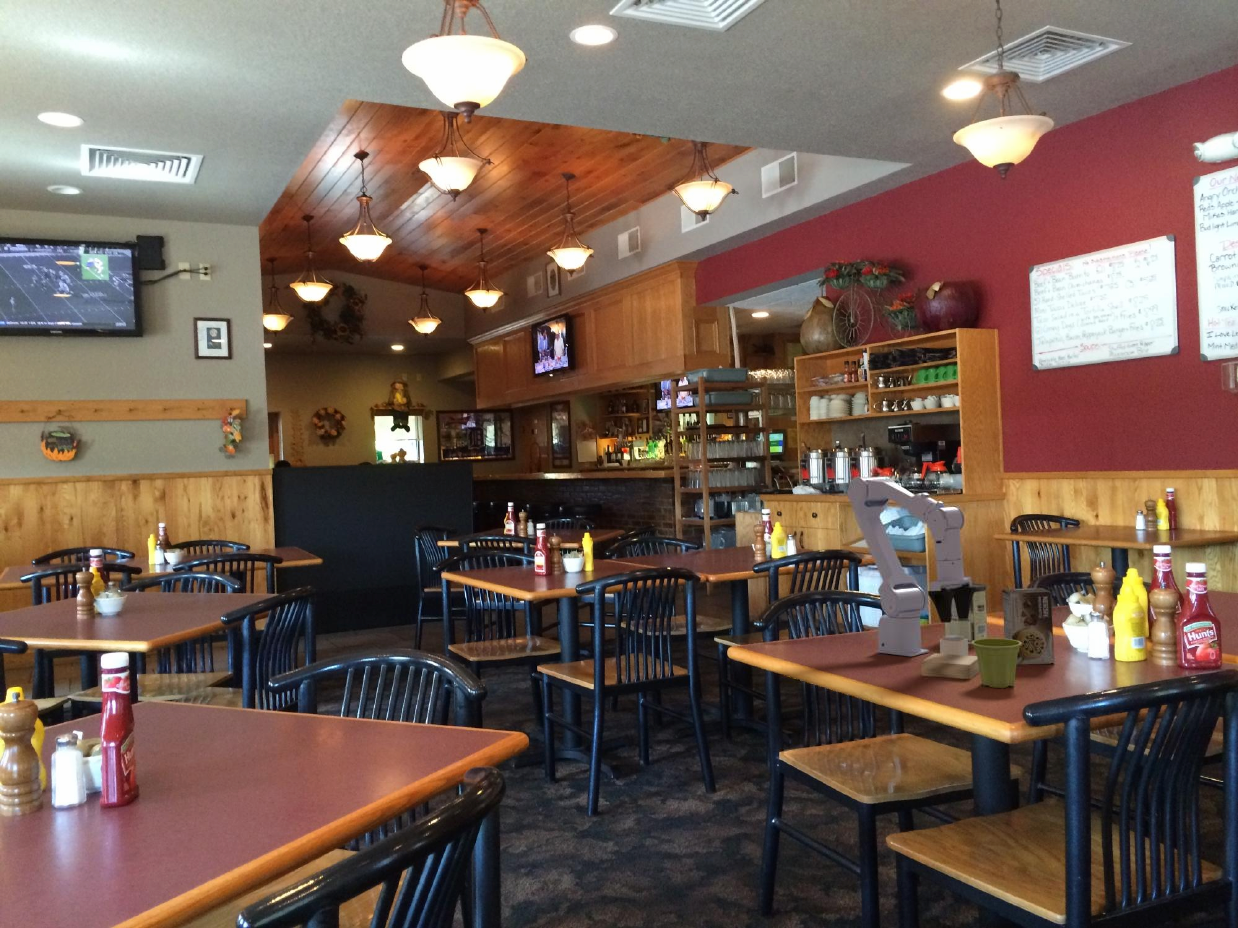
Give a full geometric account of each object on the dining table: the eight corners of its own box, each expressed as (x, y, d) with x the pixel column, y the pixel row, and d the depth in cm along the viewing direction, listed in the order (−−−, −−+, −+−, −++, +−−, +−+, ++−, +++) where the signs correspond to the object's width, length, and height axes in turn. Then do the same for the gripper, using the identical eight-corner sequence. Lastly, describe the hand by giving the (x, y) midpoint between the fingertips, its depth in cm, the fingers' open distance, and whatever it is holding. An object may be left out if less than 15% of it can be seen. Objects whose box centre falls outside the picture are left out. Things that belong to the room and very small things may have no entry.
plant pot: (1025, 690, 195) (1023, 646, 195) (974, 689, 198) (972, 645, 198) (1020, 680, 204) (1019, 638, 204) (972, 679, 207) (970, 637, 207)
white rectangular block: (940, 663, 224) (939, 636, 224) (950, 660, 227) (949, 634, 227) (958, 665, 221) (957, 638, 221) (968, 662, 224) (967, 636, 224)
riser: (921, 675, 212) (921, 661, 212) (934, 666, 221) (934, 653, 221) (970, 679, 207) (969, 664, 207) (981, 670, 215) (981, 656, 215)
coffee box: (1045, 658, 225) (1042, 587, 225) (1055, 664, 219) (1052, 590, 219) (1004, 659, 226) (1001, 588, 226) (1012, 664, 220) (1009, 591, 220)
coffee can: (950, 636, 258) (948, 582, 258) (992, 638, 253) (989, 583, 253) (940, 643, 249) (938, 586, 250) (982, 645, 244) (980, 588, 244)
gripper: (948, 561, 217) (954, 624, 216) (981, 557, 227) (987, 617, 226) (919, 562, 222) (925, 623, 221) (953, 558, 232) (958, 616, 231)
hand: (954, 620), depth 224 cm, fingers open, 7 cm apart
